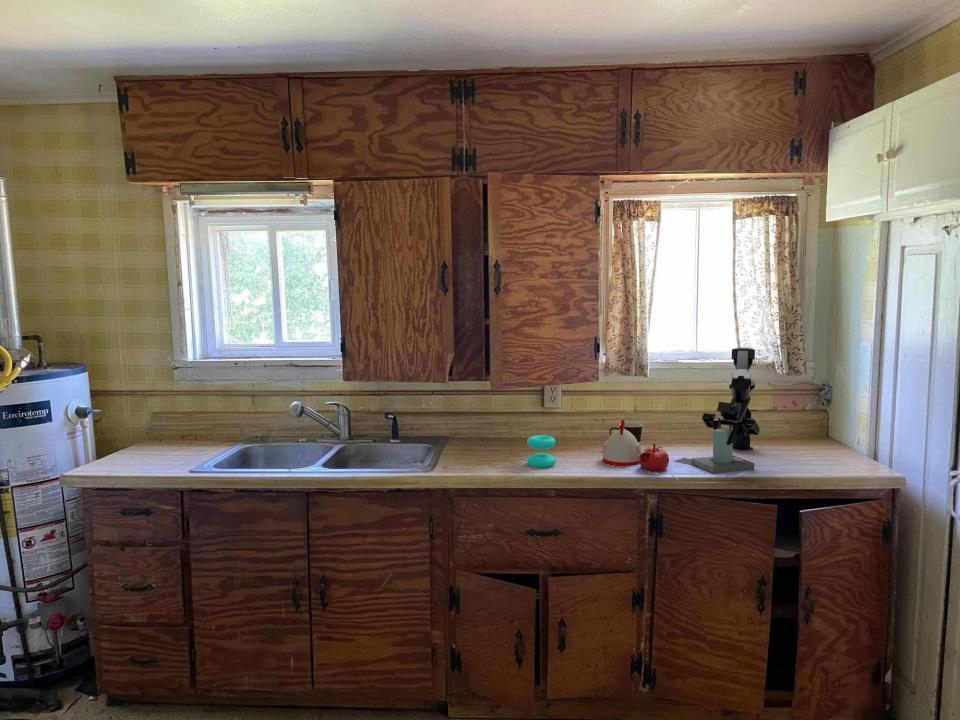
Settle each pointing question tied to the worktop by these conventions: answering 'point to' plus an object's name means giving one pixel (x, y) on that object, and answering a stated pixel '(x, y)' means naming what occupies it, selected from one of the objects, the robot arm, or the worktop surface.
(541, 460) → the donuts
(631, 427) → the coffee mug
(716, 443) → the block
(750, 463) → the plate
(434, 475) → the worktop surface
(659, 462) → the pomegranate
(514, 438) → the worktop surface
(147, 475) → the worktop surface
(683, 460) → the mat
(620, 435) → the kitchen timer
